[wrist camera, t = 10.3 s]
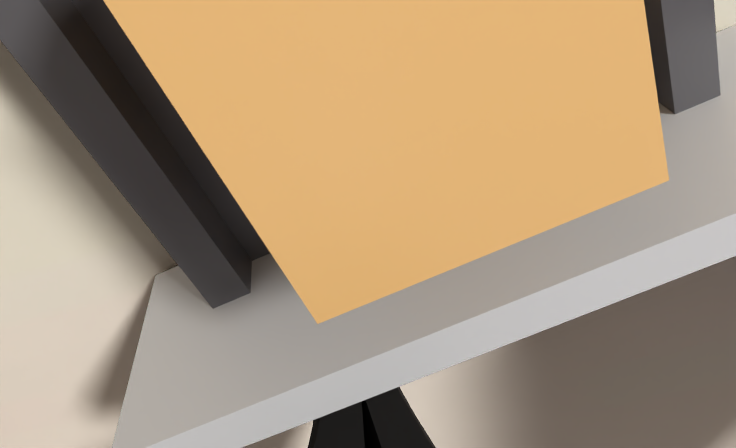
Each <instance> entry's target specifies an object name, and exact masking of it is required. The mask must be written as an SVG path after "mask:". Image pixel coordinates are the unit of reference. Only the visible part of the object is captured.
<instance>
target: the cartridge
mask: <svg viewBox="0 0 736 448" xmlns="http://www.w3.org/2000/svg"><path fill="white" fill-rule="evenodd" d="M103 1H104V2H105V4H106V5H107V7H108V8H109V10H110V11H111V13H112V14H113V16H114V17H115V19H116V20H117V22H118V23H119V25H120V26H121V28H122V29H123V31H124V32H125V34H126V35H127V37H128V38H129V40H130V41H131V43H132V44H133V46H134V47H135V49H136V50H137V52H138V53H139V55H140V57H141V58H142V60H143V61H144V63H145V64H146V66H147V67H148V69H149V70H150V72H151V73H152V75H153V76H154V78H155V79H156V81H157V82H158V84H159V85H160V87H161V88H162V90H163V91H164V93H165V94H166V96H167V97H168V99H169V100H170V102H171V103H172V105H173V106H174V108H175V109H176V111H177V112H178V114H179V115H180V117H181V118H182V120H183V121H184V123H185V125H186V126H187V128H188V129H189V131H190V132H191V134H192V135H193V137H194V138H195V140H196V141H197V143H198V144H199V146H200V147H201V149H202V150H203V152H204V153H205V155H206V156H207V158H208V159H209V161H210V162H211V164H212V165H213V167H214V168H215V170H216V171H217V173H218V174H219V176H220V177H221V179H222V180H223V182H224V183H225V185H226V186H227V188H228V189H229V191H230V193H231V194H232V196H233V197H234V199H235V200H236V202H237V203H238V205H239V206H240V208H241V209H242V211H243V212H244V214H245V215H246V217H247V218H248V220H249V221H250V223H251V224H252V226H253V227H254V229H255V230H256V232H257V233H258V235H259V236H260V238H261V239H262V241H263V242H264V244H265V245H266V247H267V248H268V250H269V251H270V253H271V254H272V256H273V257H274V259H275V261H276V262H277V264H278V265H279V267H280V268H281V270H282V271H283V273H284V274H285V276H286V277H287V279H288V280H289V282H290V283H291V285H292V286H293V288H294V289H295V291H296V292H297V294H298V295H299V297H300V298H301V300H302V301H303V303H304V304H305V306H306V307H307V309H308V310H309V312H310V313H311V315H312V316H313V318H314V319H315V321H316V322H317V324H319V323H322V322H324V321H326V320H329V319H331V318H334V317H336V316H339V315H341V314H344V313H346V312H348V311H351V310H353V309H356V308H358V307H361V306H363V305H366V304H368V303H370V302H373V301H375V300H378V299H380V298H383V297H385V296H388V295H390V294H393V293H395V292H397V291H400V290H402V289H405V288H407V287H410V286H412V285H415V284H417V283H419V282H422V281H424V280H427V279H429V278H432V277H434V276H437V275H439V274H441V273H444V272H446V271H449V270H451V269H454V268H456V267H459V266H461V265H464V264H466V263H468V262H471V261H473V260H476V259H478V258H481V257H483V256H486V255H488V254H490V253H493V252H495V251H498V250H500V249H503V248H505V247H508V246H510V245H512V244H515V243H517V242H520V241H522V240H525V239H527V238H530V237H532V236H534V235H537V234H539V233H542V232H544V231H547V230H549V229H552V228H554V227H557V226H559V225H561V224H564V223H566V222H569V221H571V220H574V219H576V218H579V217H581V216H583V215H586V214H588V213H591V212H593V211H596V210H598V209H601V208H603V207H605V206H608V205H610V204H613V203H615V202H618V201H620V200H623V199H625V198H628V197H630V196H632V195H635V194H637V193H640V192H642V191H645V190H647V189H650V188H652V187H654V186H657V185H659V184H662V183H664V182H667V181H669V175H668V168H667V161H666V154H665V146H664V139H663V132H662V125H661V118H660V111H659V104H658V97H657V90H656V83H655V76H654V69H653V62H652V55H651V48H650V41H649V33H648V26H647V19H646V12H645V5H644V0H103Z"/></svg>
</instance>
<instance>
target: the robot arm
mask: <svg viewBox="0 0 736 448" xmlns="http://www.w3.org/2000/svg"><path fill="white" fill-rule="evenodd" d="M308 448H436V447H435V446H434V444H433V443H432V441H431V440H430V438H429V436H428V435H427V433H426V432H425V430H424V428H423V427H422V425H421V424H420V422H419V421H418V419H417V417H416V416H415V414H414V412H413V410H412V409H411V407H410V405H409V403H408V402H407V400H406V398H405V396H404V395H403V393H402V391H401V389H400V387H397V388H394V389H392V390H389V391H387V392H384V393H382V394H379V395H376V396H374V397H371V398H369V399H366V400H364V401H361V402H358V403H356V404H353V405H351V406H348V407H345V408H343V409H340V410H338V411H335V412H333V413H330V414H327V415H325V416H322V417H320V418H317V419H315V420H313V427H312V431H311V436H310V441H309V445H308Z"/></svg>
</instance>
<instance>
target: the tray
mask: <svg viewBox="0 0 736 448" xmlns="http://www.w3.org/2000/svg"><path fill="white" fill-rule="evenodd" d="M644 5H645V12H646V19H647V26H648V33H649V41H650V48H651V55H652V62H653V69H654V76H655V83H656V90H657V97H658V104H659V111H660V118H661V125H662V132H663V139H664V146H665V154H666V161H667V168H668V175H669V181H667V182H664V183H662V184H659V185H657V186H654V187H652V188H650V189H647V190H645V191H642V192H640V193H637V194H635V195H632V196H630V197H628V198H625V199H623V200H620V201H618V202H615V203H613V204H610V205H608V206H605V207H603V208H601V209H598V210H596V211H593V212H591V213H588V214H586V215H583V216H581V217H579V218H576V219H574V220H571V221H569V222H566V223H564V224H561V225H559V226H557V227H554V228H552V229H549V230H547V231H544V232H542V233H539V234H537V235H534V236H532V237H530V238H527V239H525V240H522V241H520V242H517V243H515V244H512V245H510V246H508V247H505V248H503V249H500V250H498V251H495V252H493V253H490V254H488V255H486V256H483V257H481V258H478V259H476V260H473V261H471V262H468V263H466V264H464V265H461V266H459V267H456V268H454V269H451V270H449V271H446V272H444V273H441V274H439V275H437V276H434V277H432V278H429V279H427V280H424V281H422V282H419V283H417V284H415V285H412V286H410V287H407V288H405V289H402V290H400V291H397V292H395V293H393V294H390V295H388V296H385V297H383V298H380V299H378V300H375V301H373V302H370V303H368V304H366V305H363V306H361V307H358V308H356V309H353V310H351V311H348V312H346V313H344V314H341V315H339V316H336V317H334V318H331V319H329V320H326V321H324V322H322V323H319V324H317V322H316V321H315V319H314V318H313V316H312V315H311V313H310V312H309V310H308V309H307V307H306V306H305V304H304V303H303V301H302V300H301V298H300V297H299V295H298V294H297V292H296V291H295V289H294V288H293V286H292V285H291V283H290V282H289V280H288V279H287V277H286V276H285V274H284V273H283V271H282V270H281V268H280V267H279V265H278V264H277V262H276V261H275V259H274V257H273V256H272V254H271V253H270V251H269V250H268V248H267V247H266V245H265V244H264V242H263V241H262V239H261V238H260V236H259V235H258V233H257V232H256V230H255V229H254V227H253V226H252V224H251V223H250V221H249V220H248V218H247V217H246V215H245V214H244V212H243V211H242V209H241V208H240V206H239V205H238V203H237V202H236V200H235V199H234V197H233V196H232V194H231V193H230V191H229V189H228V188H227V186H226V185H225V183H224V182H223V180H222V179H221V177H220V176H219V174H218V173H217V171H216V170H215V168H214V167H213V165H212V164H211V162H210V161H209V159H208V158H207V156H206V155H205V153H204V152H203V150H202V149H201V147H200V146H199V144H198V143H197V141H196V140H195V138H194V137H193V135H192V134H191V132H190V131H189V129H188V128H187V126H186V125H185V123H184V121H183V120H182V118H181V117H180V115H179V114H178V112H177V111H176V109H175V108H174V106H173V105H172V103H171V102H170V100H169V99H168V97H167V96H166V94H165V93H164V91H163V90H162V88H161V87H160V85H159V84H158V82H157V81H156V79H155V78H154V76H153V75H152V73H151V72H150V70H149V69H148V67H147V66H146V64H145V63H144V61H143V60H142V58H141V57H140V55H139V53H138V52H137V50H136V49H135V47H134V46H133V44H132V43H131V41H130V40H129V38H128V37H127V35H126V34H125V32H124V31H123V29H122V28H121V26H120V25H119V23H118V22H117V20H116V19H115V17H114V16H113V14H112V13H111V11H110V10H109V8H108V7H107V5H106V4H105V2H104V1H103V0H0V40H1V42H2V43H3V44H4V45H5V47H6V48H7V49H8V50H9V52H10V53H11V54H12V55H13V57H14V58H15V59H16V61H17V62H18V63H19V64H20V66H21V67H22V68H23V69H24V71H25V72H26V73H27V74H28V76H29V77H30V78H31V80H32V81H33V82H34V83H35V85H36V86H37V87H38V88H39V90H40V91H41V92H42V93H43V95H44V96H45V97H46V98H47V100H48V101H49V102H50V104H51V105H52V106H53V107H54V109H55V110H56V111H57V112H58V114H59V115H60V116H61V117H62V119H63V120H64V121H65V123H66V124H67V125H68V126H69V128H70V129H71V130H72V131H73V133H74V134H75V135H76V136H77V138H78V139H79V140H80V141H81V143H82V144H83V145H84V147H85V148H86V149H87V150H88V152H89V153H90V154H91V155H92V157H93V158H94V159H95V160H96V162H97V163H98V164H99V166H100V167H101V168H102V169H103V171H104V172H105V173H106V174H107V176H108V177H109V178H110V179H111V181H112V182H113V183H114V184H115V186H116V187H117V188H118V190H119V191H120V192H121V193H122V195H123V196H124V197H125V198H126V200H127V201H128V202H129V203H130V205H131V206H132V207H133V209H134V210H135V211H136V212H137V214H138V215H139V216H140V217H141V219H142V220H143V221H144V222H145V224H146V225H147V226H148V227H149V229H150V230H151V231H152V233H153V234H154V235H155V236H156V238H157V239H158V240H159V241H160V243H161V244H162V245H163V246H164V248H165V249H166V250H167V252H168V253H169V254H170V255H171V257H172V258H173V259H174V260H175V262H176V263H177V264H178V266H176V267H174V268H171V269H169V270H167V271H165V272H162V273H160V274H158V275H156V276H155V280H154V283H153V287H152V291H151V295H150V299H149V303H148V307H147V311H146V315H145V319H144V323H143V327H142V331H141V334H140V338H139V342H138V346H137V350H136V354H135V358H134V362H133V366H132V370H131V374H130V378H129V382H128V386H127V389H126V393H125V397H124V401H123V405H122V409H121V413H120V417H119V421H118V425H117V429H116V433H115V437H114V441H113V444H112V448H243V447H245V446H248V445H250V444H253V443H255V442H258V441H261V440H263V439H266V438H268V437H271V436H273V435H276V434H279V433H281V432H284V431H286V430H289V429H291V428H294V427H297V426H299V425H302V424H304V423H307V422H309V421H312V420H315V419H317V418H320V417H322V416H325V415H327V414H330V413H333V412H335V411H338V410H340V409H343V408H345V407H348V406H351V405H353V404H356V403H358V402H361V401H364V400H366V399H369V398H371V397H374V396H376V395H379V394H382V393H384V392H387V391H389V390H392V389H394V388H397V387H400V386H402V385H405V384H407V383H410V382H412V381H415V380H418V379H420V378H423V377H425V376H428V375H430V374H433V373H436V372H438V371H441V370H443V369H446V368H448V367H451V366H454V365H456V364H459V363H461V362H464V361H466V360H469V359H472V358H474V357H477V356H479V355H482V354H484V353H487V352H490V351H492V350H495V349H497V348H500V347H502V346H505V345H508V344H510V343H513V342H515V341H518V340H520V339H523V338H526V337H528V336H531V335H533V334H536V333H538V332H541V331H544V330H546V329H549V328H551V327H554V326H557V325H559V324H562V323H564V322H567V321H569V320H572V319H575V318H577V317H580V316H582V315H585V314H587V313H590V312H593V311H595V310H598V309H600V308H603V307H605V306H608V305H611V304H613V303H616V302H618V301H621V300H623V299H626V298H629V297H631V296H634V295H636V294H639V293H641V292H644V291H647V290H649V289H652V288H654V287H657V286H659V285H662V284H665V283H667V282H670V281H672V280H675V279H677V278H680V277H683V276H685V275H688V274H690V273H693V272H695V271H698V270H701V269H703V268H706V267H708V266H711V265H713V264H716V263H719V262H721V261H724V260H726V259H729V258H731V257H734V256H736V24H735V25H733V26H731V27H728V28H726V29H724V30H721V31H719V32H717V33H716V26H715V12H714V0H644Z"/></svg>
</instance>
